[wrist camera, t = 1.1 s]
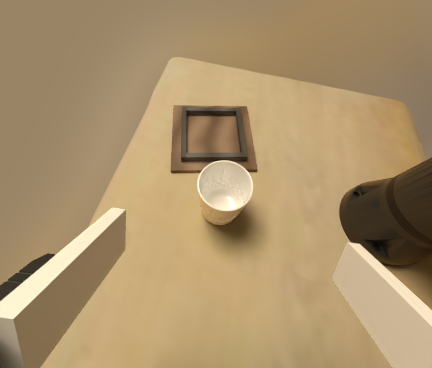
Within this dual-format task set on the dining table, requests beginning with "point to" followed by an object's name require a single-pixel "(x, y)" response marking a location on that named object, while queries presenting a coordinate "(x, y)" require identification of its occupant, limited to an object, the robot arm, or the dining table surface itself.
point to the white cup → (223, 191)
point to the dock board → (211, 137)
